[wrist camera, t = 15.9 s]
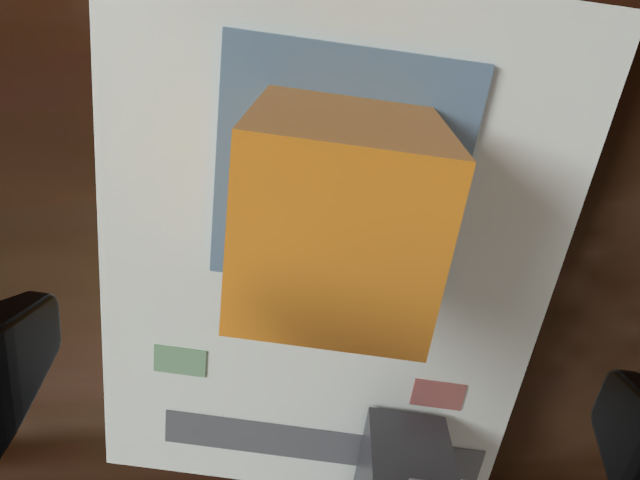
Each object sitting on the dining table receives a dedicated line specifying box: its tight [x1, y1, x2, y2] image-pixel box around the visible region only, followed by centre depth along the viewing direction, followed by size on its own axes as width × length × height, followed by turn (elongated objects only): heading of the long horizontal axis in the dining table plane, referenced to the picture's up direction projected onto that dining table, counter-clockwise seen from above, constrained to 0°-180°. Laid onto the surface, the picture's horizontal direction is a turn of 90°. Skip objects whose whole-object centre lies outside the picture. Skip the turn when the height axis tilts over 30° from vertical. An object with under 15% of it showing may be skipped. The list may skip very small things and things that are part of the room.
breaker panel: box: [89, 0, 640, 480], centre depth 20 cm, size 20×16×2 cm
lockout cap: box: [219, 85, 476, 363], centre depth 15 cm, size 5×5×6 cm
